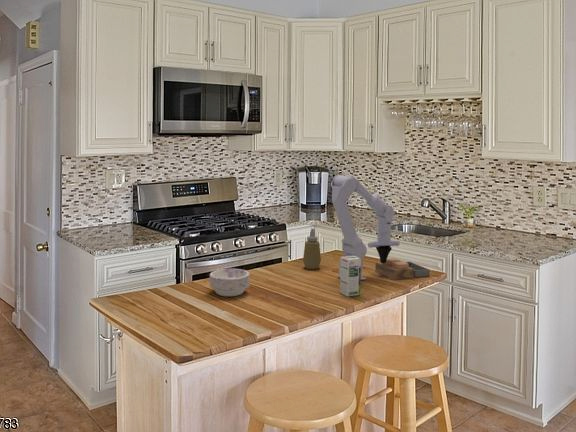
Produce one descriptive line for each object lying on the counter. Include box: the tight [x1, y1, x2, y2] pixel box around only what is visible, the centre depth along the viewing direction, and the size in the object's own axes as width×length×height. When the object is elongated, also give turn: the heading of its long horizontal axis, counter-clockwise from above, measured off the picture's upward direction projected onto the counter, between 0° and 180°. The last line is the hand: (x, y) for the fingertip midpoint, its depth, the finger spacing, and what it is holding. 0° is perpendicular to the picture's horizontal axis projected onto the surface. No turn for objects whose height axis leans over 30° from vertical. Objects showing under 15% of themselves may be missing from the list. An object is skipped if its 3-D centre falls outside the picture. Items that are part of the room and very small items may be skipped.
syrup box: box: [339, 256, 362, 298], centre depth 218 cm, size 6×6×14 cm
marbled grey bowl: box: [209, 268, 251, 297], centre depth 218 cm, size 15×15×8 cm
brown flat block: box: [375, 261, 415, 281], centre depth 248 cm, size 10×15×4 cm, turn 21°
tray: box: [404, 261, 430, 279], centre depth 252 cm, size 7×15×3 cm, turn 21°
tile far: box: [386, 257, 402, 266], centre depth 251 cm, size 5×5×2 cm
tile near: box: [392, 260, 409, 269], centre depth 246 cm, size 5×5×2 cm
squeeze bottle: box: [302, 228, 322, 270], centre depth 256 cm, size 8×8×18 cm
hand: (383, 262), depth 249 cm, fingers closed
